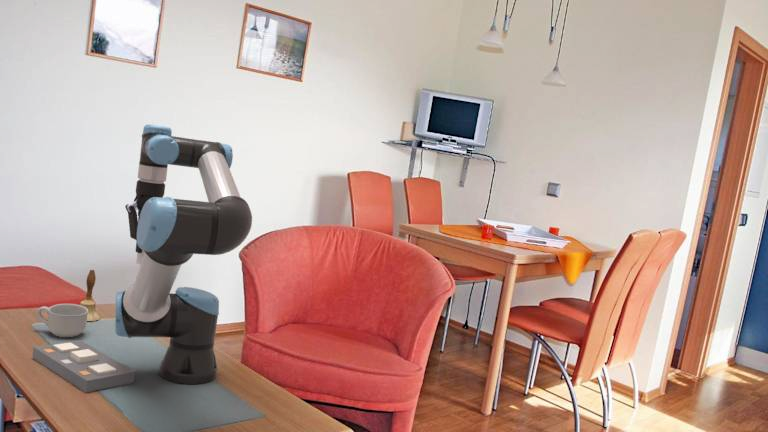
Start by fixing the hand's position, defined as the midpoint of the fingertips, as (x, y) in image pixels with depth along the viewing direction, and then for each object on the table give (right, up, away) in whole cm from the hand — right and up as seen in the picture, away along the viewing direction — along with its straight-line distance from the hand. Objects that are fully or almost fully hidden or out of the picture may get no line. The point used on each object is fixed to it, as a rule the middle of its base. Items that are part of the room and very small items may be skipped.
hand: (141, 263), depth 190 cm
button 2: (-3, -27, -19) cm, 33 cm away
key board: (-10, -27, -14) cm, 32 cm away
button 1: (-17, -24, -9) cm, 30 cm away
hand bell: (-28, -20, +28) cm, 44 cm away
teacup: (-28, -22, +11) cm, 37 cm away
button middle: (-10, -24, -14) cm, 30 cm away
